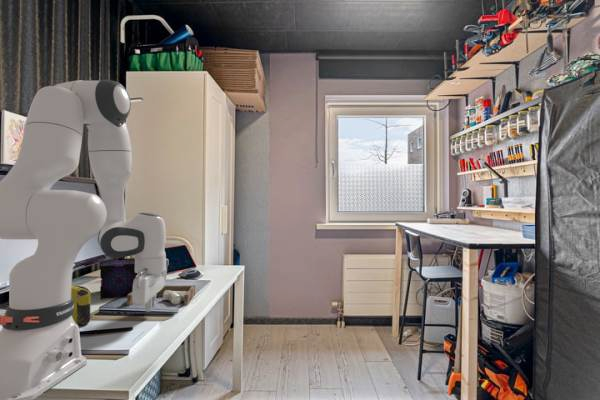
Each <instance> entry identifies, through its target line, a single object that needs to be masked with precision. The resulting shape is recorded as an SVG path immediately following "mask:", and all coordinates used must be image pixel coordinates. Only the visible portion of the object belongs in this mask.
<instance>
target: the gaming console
mask: <svg viewBox="0 0 600 400" xmlns="http://www.w3.org/2000/svg"><path fill="white" fill-rule="evenodd" d="M71 297H73V301H74V313H73V315H72V317H73V320H74V321H75V323H76V324H77V325H78V326H85V325H88V324H89V323H90V321H91V298H92V295H91V291H89V290H87V289H85V288H82V287H79V286H76V285H73V284H72V286H71Z"/></svg>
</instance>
